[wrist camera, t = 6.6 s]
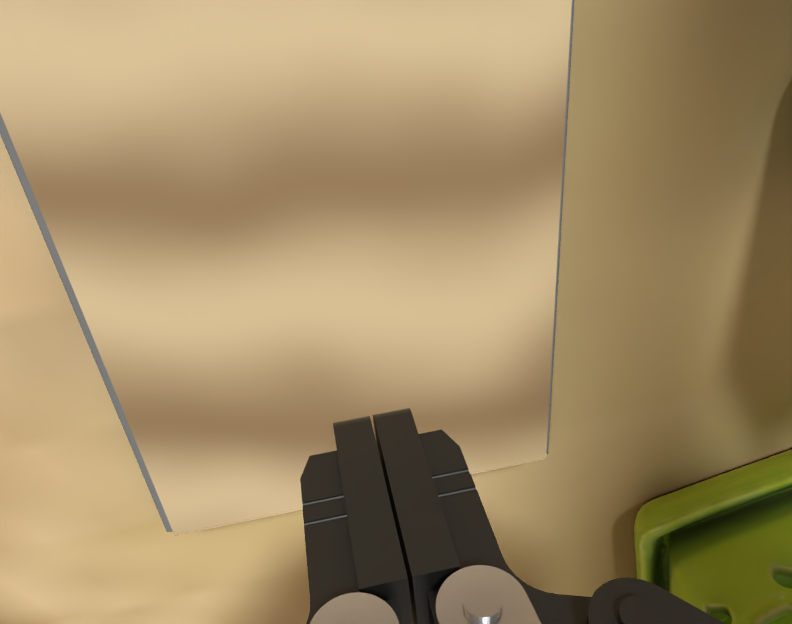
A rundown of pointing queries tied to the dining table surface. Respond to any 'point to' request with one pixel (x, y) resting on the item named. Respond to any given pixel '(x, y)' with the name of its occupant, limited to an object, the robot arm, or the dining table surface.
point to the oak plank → (300, 222)
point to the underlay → (1, 129)
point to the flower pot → (724, 543)
